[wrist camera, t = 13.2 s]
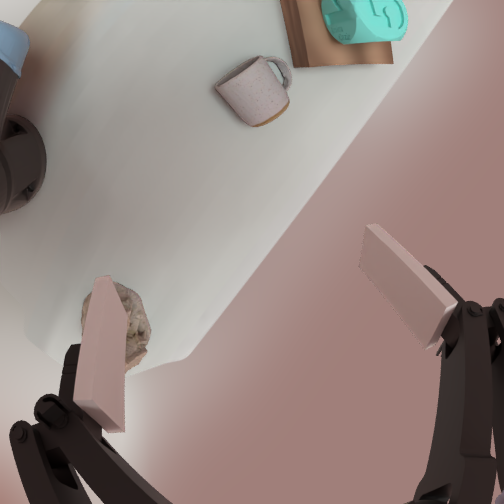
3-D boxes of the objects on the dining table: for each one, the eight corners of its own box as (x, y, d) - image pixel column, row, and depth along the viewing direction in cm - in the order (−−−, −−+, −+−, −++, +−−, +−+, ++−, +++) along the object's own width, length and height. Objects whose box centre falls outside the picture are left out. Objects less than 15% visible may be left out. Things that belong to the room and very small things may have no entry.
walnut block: (292, 67, 37) (309, 67, 32) (275, -15, 29) (289, -27, 24) (370, 62, 38) (393, 63, 33) (357, -13, 30) (378, -19, 25)
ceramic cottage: (131, 354, 60) (130, 410, 47) (69, 316, 51) (53, 372, 38) (175, 314, 57) (181, 373, 45) (108, 268, 49) (94, 324, 36)
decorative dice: (314, -7, 26) (345, -21, 20) (363, -8, 26) (399, -17, 20) (330, 45, 31) (364, 42, 24) (377, 40, 31) (414, 40, 24)
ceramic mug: (245, 126, 40) (259, 135, 34) (210, 86, 36) (218, 87, 30) (298, 86, 38) (321, 88, 32) (267, 44, 34) (285, 38, 28)
